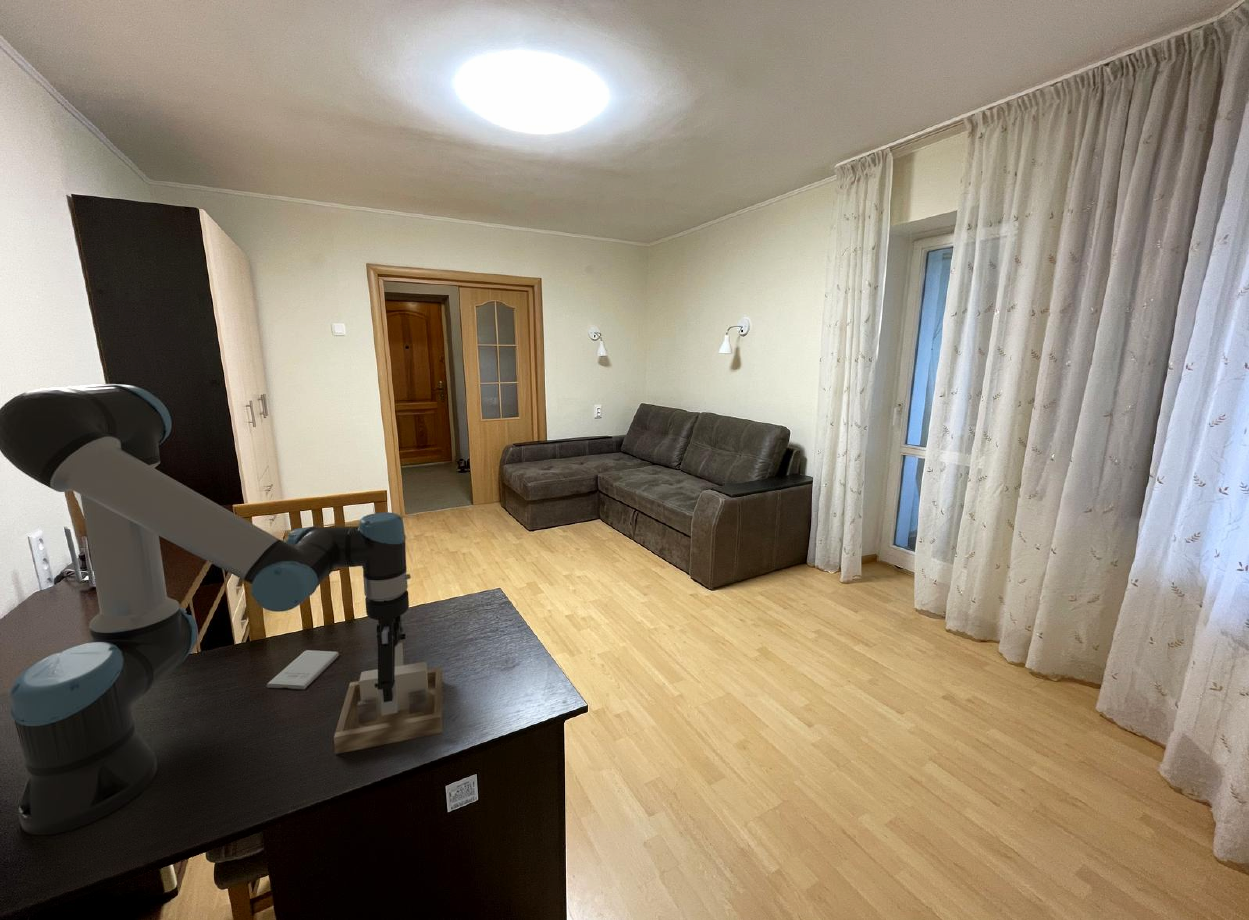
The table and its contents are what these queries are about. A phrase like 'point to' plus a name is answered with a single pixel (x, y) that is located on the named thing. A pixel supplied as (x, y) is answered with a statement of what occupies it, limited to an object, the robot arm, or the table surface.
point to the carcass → (389, 718)
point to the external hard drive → (303, 669)
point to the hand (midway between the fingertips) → (393, 690)
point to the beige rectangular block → (406, 682)
